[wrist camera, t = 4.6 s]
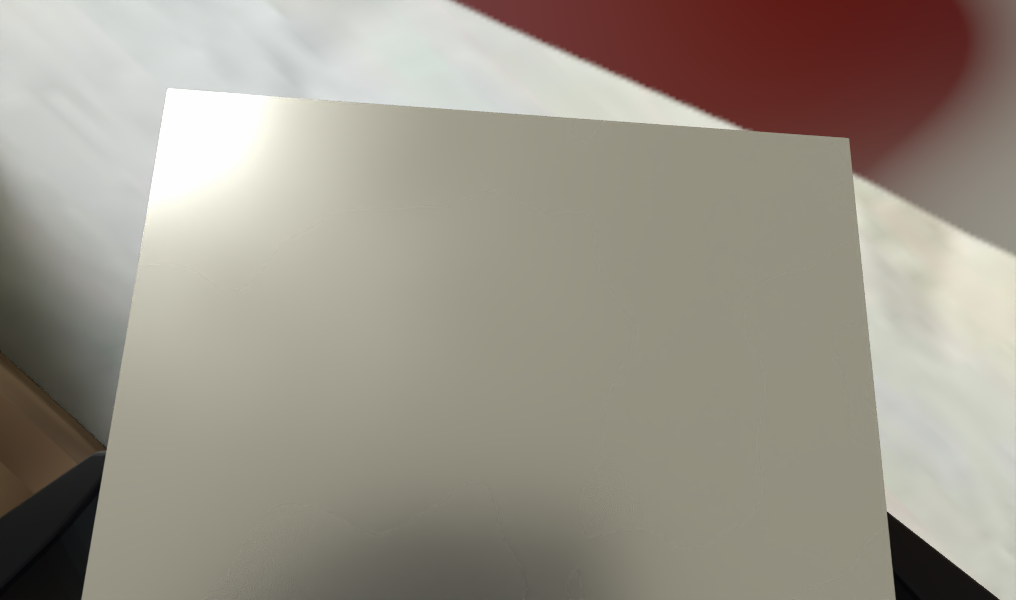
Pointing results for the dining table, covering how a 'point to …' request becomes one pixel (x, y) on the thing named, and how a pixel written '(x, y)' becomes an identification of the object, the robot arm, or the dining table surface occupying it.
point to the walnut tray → (34, 438)
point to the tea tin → (491, 363)
